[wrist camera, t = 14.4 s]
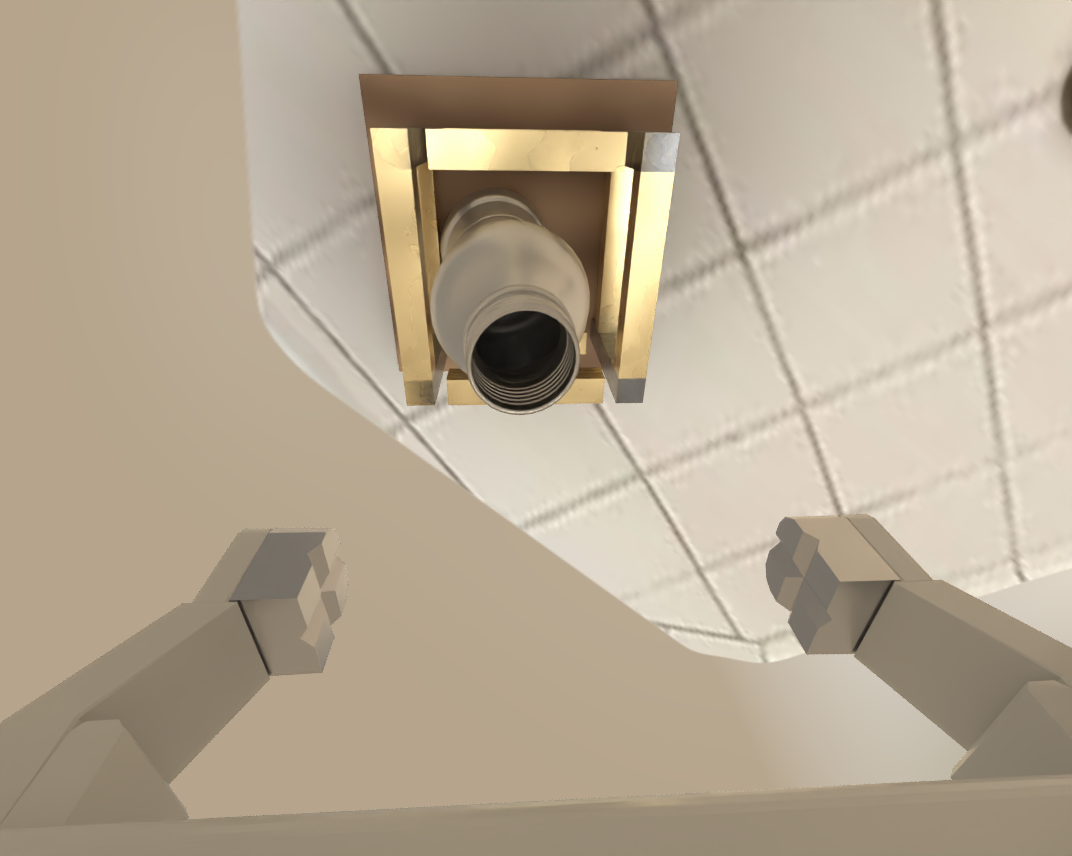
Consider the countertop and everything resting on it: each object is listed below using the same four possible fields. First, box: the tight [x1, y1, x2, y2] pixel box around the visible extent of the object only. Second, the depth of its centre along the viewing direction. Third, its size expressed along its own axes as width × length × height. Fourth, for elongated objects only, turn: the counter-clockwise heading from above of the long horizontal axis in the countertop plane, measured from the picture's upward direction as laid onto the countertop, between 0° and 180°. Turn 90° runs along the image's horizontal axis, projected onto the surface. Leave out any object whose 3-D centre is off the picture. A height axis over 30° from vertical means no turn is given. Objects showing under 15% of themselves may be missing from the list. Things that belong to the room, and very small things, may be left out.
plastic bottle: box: [430, 188, 590, 415], centre depth 24 cm, size 6×7×20 cm
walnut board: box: [359, 74, 678, 371], centre depth 34 cm, size 18×18×1 cm
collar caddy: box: [370, 127, 680, 406], centre depth 29 cm, size 13×13×10 cm
